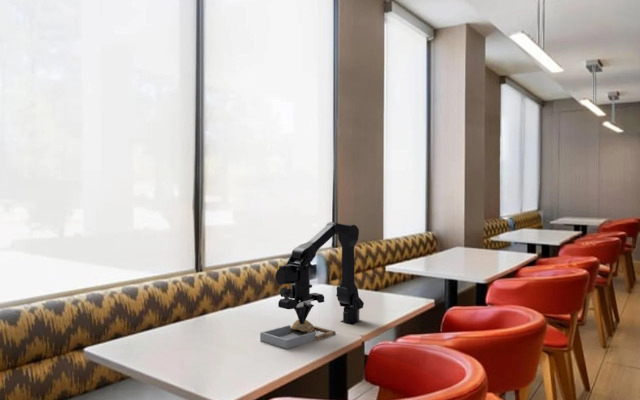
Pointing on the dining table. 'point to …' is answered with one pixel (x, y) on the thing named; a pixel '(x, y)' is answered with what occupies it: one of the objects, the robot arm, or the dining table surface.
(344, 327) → the dining table surface
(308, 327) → the seashell
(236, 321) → the dining table surface
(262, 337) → the tray
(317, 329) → the cradle
